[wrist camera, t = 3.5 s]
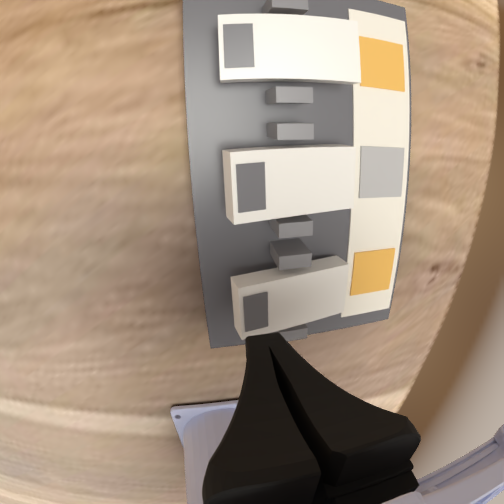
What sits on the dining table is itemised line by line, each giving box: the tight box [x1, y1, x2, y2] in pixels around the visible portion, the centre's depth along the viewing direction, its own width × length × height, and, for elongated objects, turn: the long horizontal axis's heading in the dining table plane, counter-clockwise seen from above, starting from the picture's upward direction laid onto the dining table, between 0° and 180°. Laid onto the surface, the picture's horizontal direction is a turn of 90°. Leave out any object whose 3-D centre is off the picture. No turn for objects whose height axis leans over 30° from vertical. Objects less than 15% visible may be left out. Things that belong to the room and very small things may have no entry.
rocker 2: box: [222, 144, 356, 225], centre depth 14 cm, size 3×6×1 cm, turn 92°
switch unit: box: [183, 0, 411, 348], centre depth 16 cm, size 20×12×4 cm, turn 2°
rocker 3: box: [231, 255, 349, 340], centre depth 17 cm, size 3×6×1 cm, turn 92°
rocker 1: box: [218, 14, 361, 85], centre depth 12 cm, size 3×6×1 cm, turn 92°
